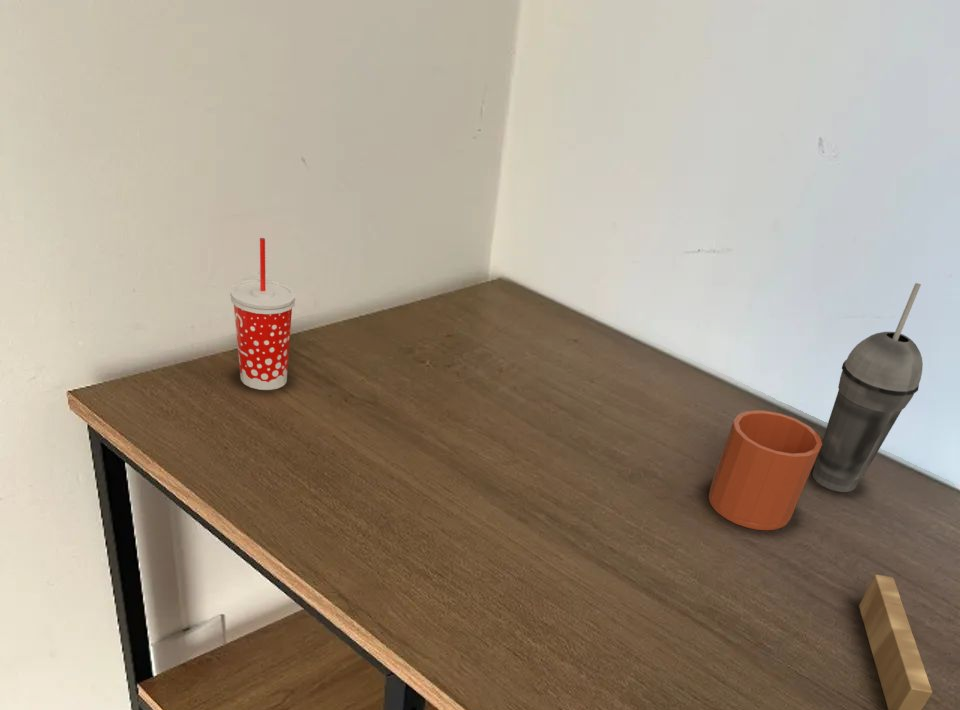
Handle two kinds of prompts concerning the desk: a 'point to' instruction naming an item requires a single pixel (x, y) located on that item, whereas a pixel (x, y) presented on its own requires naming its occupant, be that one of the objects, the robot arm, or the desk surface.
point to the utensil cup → (763, 469)
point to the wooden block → (894, 646)
